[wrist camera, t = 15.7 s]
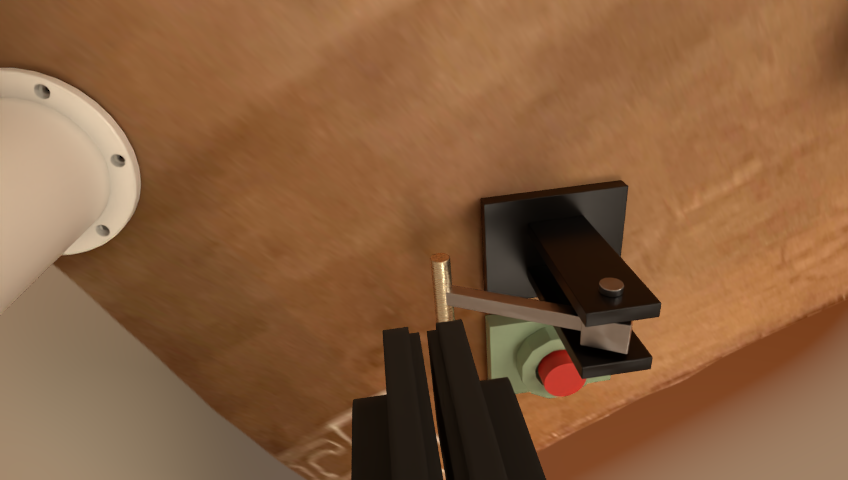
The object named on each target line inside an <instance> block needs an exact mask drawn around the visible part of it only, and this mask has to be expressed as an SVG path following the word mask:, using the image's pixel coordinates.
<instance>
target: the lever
mask: <svg viewBox="0 0 848 480" xmlns="http://www.w3.org/2000/svg"><path fill="white" fill-rule="evenodd" d="M430 259H431V270H432V280H433V290H434V301H435V311H436V322H437V323H438V322H446V321H453V320H455V318H454V307H459V308H464V309H469V310H474V311H480V312H485V313H490V314H495V315H500V316H506V317H511V318H516V319H521V320H526V321H532V322H537V323H542V324H547V325H552V326H558V327H563V328H568V329H573V330H578V331H581V337H580V345H583V346H588V347H593V348H598V349H603V350H608V351H613V352H617V353H622V354H628V350H629V344H630V338H631V332H632V324H633V321H626V322H619V323H612V324H605V325H598V326H591V327H585V326H584V324H583V322H582V321H581V319H580V318H579V316H578V314H577V313H576V311H575V309H574V308H573V306H568V305H562V304H557V303H551V302H545V301H539V300H534V299H528V298H522V297H517V296H511V295H505V294H499V293H494V292H488V291H482V290H476V289H471V288H465V287H459V286H454V285H452V278H451V265H450V256H449V255H448V254H446V253H436V254H434V255H432V256H431V258H430Z"/></svg>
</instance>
